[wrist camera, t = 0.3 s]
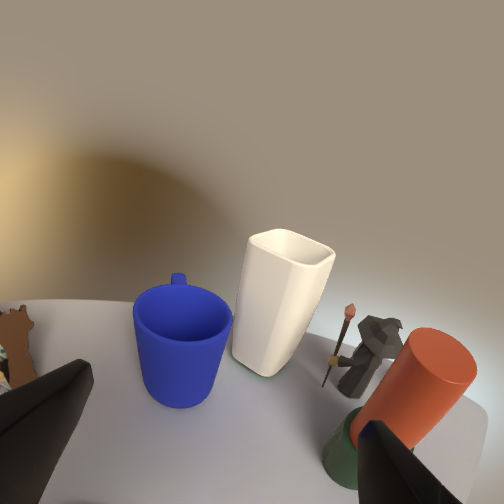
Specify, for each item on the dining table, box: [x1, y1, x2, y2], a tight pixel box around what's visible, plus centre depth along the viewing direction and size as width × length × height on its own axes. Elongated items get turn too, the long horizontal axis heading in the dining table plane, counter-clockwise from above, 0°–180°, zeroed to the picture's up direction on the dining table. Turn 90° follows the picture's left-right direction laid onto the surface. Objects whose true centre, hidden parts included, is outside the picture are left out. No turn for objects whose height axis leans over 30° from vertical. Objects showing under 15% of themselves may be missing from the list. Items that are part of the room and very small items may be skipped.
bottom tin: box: [323, 406, 414, 490], centre depth 20 cm, size 8×8×4 cm
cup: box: [232, 229, 336, 377], centre depth 30 cm, size 7×7×15 cm
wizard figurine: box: [322, 304, 403, 398], centre depth 28 cm, size 8×6×12 cm
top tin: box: [350, 328, 477, 450], centre depth 17 cm, size 6×6×10 cm
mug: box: [133, 273, 233, 408], centre depth 26 cm, size 8×12×10 cm
